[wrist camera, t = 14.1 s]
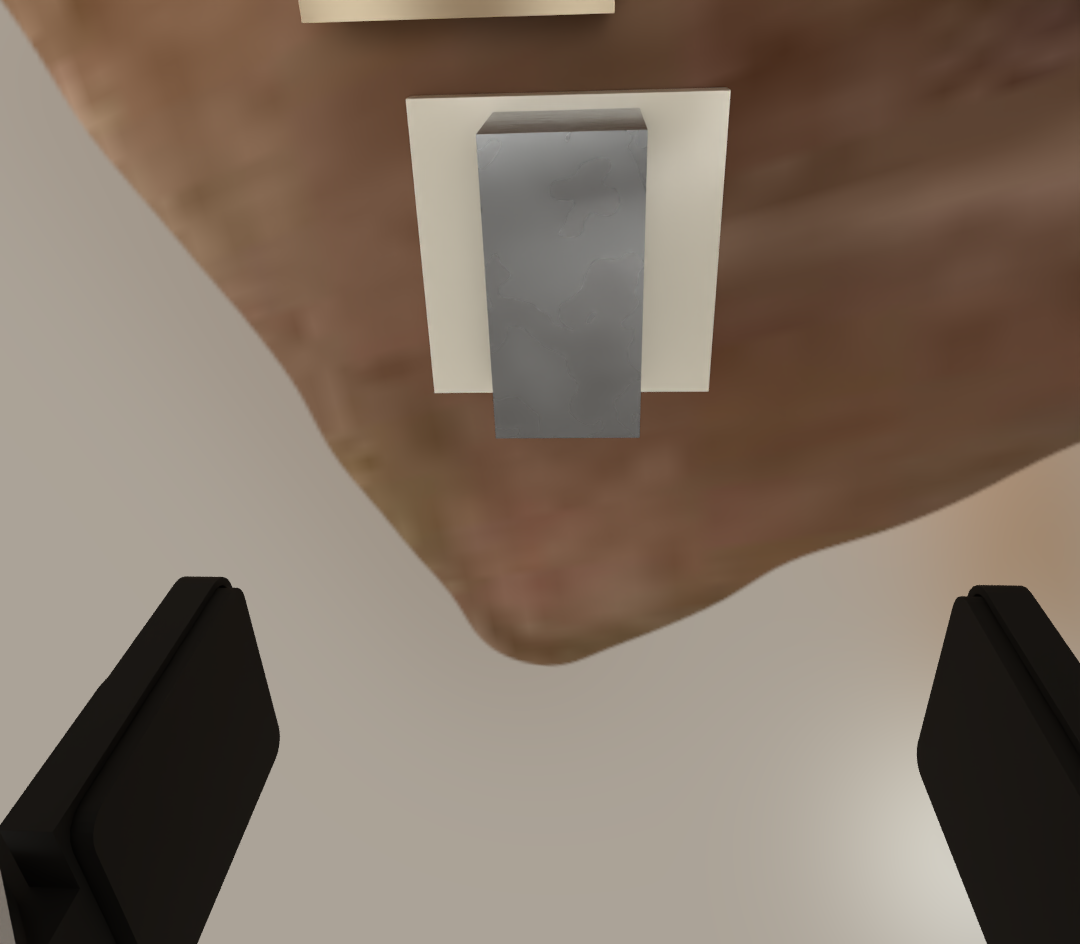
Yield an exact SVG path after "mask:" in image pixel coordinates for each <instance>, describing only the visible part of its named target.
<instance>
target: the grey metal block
mask: <svg viewBox="0 0 1080 944" xmlns="http://www.w3.org/2000/svg"><path fill="white" fill-rule="evenodd" d="M647 141H648V129H647V126H646V124H645V121H644V118H643V116H642V113H641V111H640V108H619V109H585V110H551V111H517V112H493V113H492V114H491V115H490V117H489V118H488V119H487V121H486V122H485V123H484V124H483V126H482V127H481V128H480V130H479V131H478V132H477V133H476V145H477V160H478V175H479V190H480V205H481V221H482V236H483V251H484V266H485V281H486V296H487V311H488V327H489V342H490V357H491V372H492V387H493V402H494V417H495V432H496V438H640V401H641V364H642V326H643V289H644V252H645V215H646V178H647Z"/></svg>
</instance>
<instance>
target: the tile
mask: <svg viewBox="0 0 1080 944" xmlns="http://www.w3.org/2000/svg"><path fill="white" fill-rule="evenodd" d="M730 93H731V90H729V89H728V88H727V87H720V88H682V89H644V90H606V91H568V92H531V93H493V94H455V95H417V96H410V97H408V98H406V108H407V118H408V128H409V138H410V148H411V158H412V169H413V179H414V189H415V199H416V209H417V219H418V229H419V240H420V250H421V260H422V270H423V280H424V290H425V300H426V311H427V321H428V331H429V341H430V351H431V361H432V371H433V382H434V392H435V393H493V387H492V372H491V357H490V342H489V327H488V311H487V296H486V281H485V266H484V251H483V236H482V221H481V205H480V190H479V175H478V160H477V145H476V133H477V132H478V131H479V130H480V128H481V127H482V126H483V124H484V123H485V122H486V121H487V119H488V118H489V117H490V115H491V114H492V113H493V112H517V111H551V110H585V109H619V108H640V111H641V113H642V116H643V118H644V121H645V124H646V126H647V129H648V141H647V178H646V215H645V252H644V289H643V326H642V364H641V392H706V391H709V378H710V364H711V351H712V337H713V324H714V310H715V296H716V283H717V269H718V256H719V242H720V229H721V215H722V202H723V188H724V175H725V161H726V147H727V134H728V120H729V107H730Z"/></svg>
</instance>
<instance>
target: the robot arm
mask: <svg viewBox="0 0 1080 944" xmlns="http://www.w3.org/2000/svg"><path fill="white" fill-rule="evenodd" d="M279 741H280V734H279V726H278V723H277V719H276V715H275V711H274V708H273V703H272V700H271V696H270V692H269V688H268V684H267V681H266V677H265V673H264V669H263V665H262V661H261V658H260V654H259V650H258V647H257V642H256V639H255V635H254V631H253V627H252V623H251V619H250V616H249V612H248V608H247V604H246V600H245V597H244V594H243V592H242V590H241V589H239V588H232V586H231V583H230V582H229V581H228V579H227V578H224V577H182V578H180V579H179V580H178V581H177V582H176V583H175V584H174V585H173V587H172V588H171V590H170V591H169V592H168V594H167V595H166V597H165V598H164V599H163V601H162V602H161V604H160V605H159V606H158V608H157V609H156V611H155V612H154V613H153V615H152V616H151V618H150V619H149V620H148V622H147V623H146V625H145V626H144V627H143V629H142V630H141V632H140V633H139V635H138V636H137V637H136V639H135V640H134V641H133V643H132V644H131V646H130V647H129V649H128V650H127V651H126V653H125V654H124V656H123V657H122V659H121V660H120V661H119V663H118V664H117V665H116V667H115V668H114V670H113V671H112V672H111V674H110V675H109V677H108V678H107V679H106V680H105V681H104V682H103V683H102V684H101V686H100V687H99V688H98V689H97V691H96V692H95V693H94V695H93V696H92V698H91V699H90V700H89V702H88V703H87V705H86V706H85V707H84V709H83V710H82V711H81V713H80V714H79V716H78V717H77V718H76V720H75V722H74V723H73V724H72V725H71V727H70V728H69V730H68V731H67V733H66V734H65V735H64V737H63V738H62V739H61V741H60V742H59V744H58V745H57V747H56V748H55V749H54V751H53V752H52V753H51V755H50V756H49V758H48V759H47V760H46V762H45V763H44V765H43V766H42V768H41V769H40V770H39V772H38V773H37V774H36V776H35V777H34V779H33V780H32V781H31V783H30V784H29V786H28V787H27V788H26V790H25V791H24V793H23V794H22V795H21V797H20V798H19V800H18V801H17V802H16V804H15V805H14V807H13V808H12V809H11V811H10V812H9V814H8V815H7V816H6V818H5V819H4V820H3V822H2V823H1V825H0V944H197V943H198V941H199V938H200V936H201V933H202V931H203V929H204V926H205V924H206V922H207V919H208V917H209V915H210V912H211V910H212V908H213V905H214V903H215V900H216V898H217V896H218V893H219V891H220V889H221V886H222V884H223V882H224V879H225V877H226V874H227V872H228V870H229V867H230V865H231V863H232V860H233V858H234V855H235V853H236V850H237V848H238V846H239V844H240V841H241V839H242V837H243V834H244V832H245V830H246V827H247V825H248V823H249V820H250V818H251V815H252V813H253V811H254V808H255V806H256V803H257V801H258V799H259V796H260V794H261V792H262V789H263V787H264V785H265V782H266V780H267V778H268V775H269V773H270V770H271V768H272V766H273V763H274V761H275V759H276V756H277V753H278V748H279ZM917 763H918V768H919V772H920V775H921V777H922V780H923V783H924V785H925V788H926V790H927V793H928V795H929V798H930V800H931V803H932V805H933V808H934V811H935V813H936V816H937V818H938V821H939V823H940V826H941V828H942V831H943V833H944V836H945V838H946V841H947V844H948V846H949V849H950V851H951V854H952V856H953V859H954V861H955V863H956V866H957V869H958V871H959V874H960V877H961V879H962V882H963V884H964V887H965V889H966V892H967V894H968V897H969V899H970V902H971V904H972V907H973V909H974V912H975V914H976V917H977V919H978V922H979V925H980V927H981V930H982V932H983V934H984V937H985V940H986V942H987V944H1080V663H1079V661H1078V660H1077V658H1076V657H1075V656H1074V654H1073V653H1072V651H1071V650H1070V648H1069V647H1068V645H1067V644H1066V643H1065V641H1064V640H1063V638H1062V637H1061V635H1060V634H1059V632H1058V631H1057V630H1056V628H1055V627H1054V625H1053V624H1052V622H1051V621H1050V619H1049V618H1048V617H1047V615H1046V614H1045V612H1044V611H1043V609H1042V608H1041V606H1040V605H1039V604H1038V602H1037V601H1036V599H1035V598H1034V596H1033V595H1032V593H1031V592H1030V591H1029V590H1028V589H1027V588H1026V587H1023V586H1004V585H1002V586H1001V585H997V586H996V585H994V586H993V585H977V586H973V587H972V589H971V590H970V591H969V593H968V596H967V597H965V596H961V597H958V598H957V599H956V600H955V602H954V605H953V608H952V612H951V616H950V620H949V624H948V627H947V631H946V635H945V639H944V643H943V647H942V651H941V655H940V659H939V662H938V667H937V670H936V674H935V679H934V682H933V686H932V690H931V694H930V698H929V701H928V705H927V709H926V713H925V717H924V721H923V725H922V729H921V733H920V737H919V741H918V746H917Z"/></svg>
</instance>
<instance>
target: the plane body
mask: <svg viewBox="0 0 1080 944" xmlns="http://www.w3.org/2000/svg"><path fill="white" fill-rule="evenodd" d="M298 1H299V7H300V14H301V21H302V23H318V22H350V21H381V20H413V19H444V18H476V17H507V16H538V15H570V14H601V13H615V0H298Z"/></svg>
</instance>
